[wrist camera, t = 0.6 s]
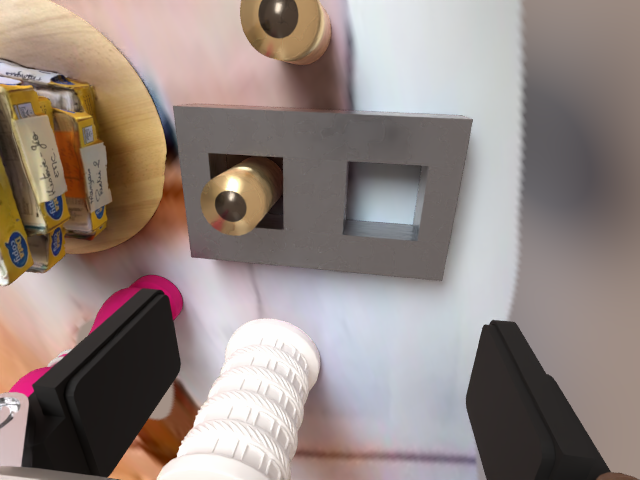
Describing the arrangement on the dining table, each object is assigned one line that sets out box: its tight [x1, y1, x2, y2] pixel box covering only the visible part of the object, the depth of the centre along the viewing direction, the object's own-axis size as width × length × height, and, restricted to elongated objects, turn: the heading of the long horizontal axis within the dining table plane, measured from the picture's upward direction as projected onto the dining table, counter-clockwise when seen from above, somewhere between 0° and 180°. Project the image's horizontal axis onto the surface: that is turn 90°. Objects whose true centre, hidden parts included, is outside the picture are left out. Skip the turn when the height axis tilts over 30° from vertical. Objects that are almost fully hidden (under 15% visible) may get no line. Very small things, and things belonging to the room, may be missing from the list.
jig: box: [173, 104, 473, 281], centre depth 31 cm, size 14×24×8 cm, turn 88°
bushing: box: [240, 0, 331, 65], centre depth 27 cm, size 5×5×8 cm
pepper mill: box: [9, 275, 183, 397], centre depth 34 cm, size 7×7×20 cm
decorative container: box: [156, 318, 320, 480], centre depth 36 cm, size 12×12×18 cm
